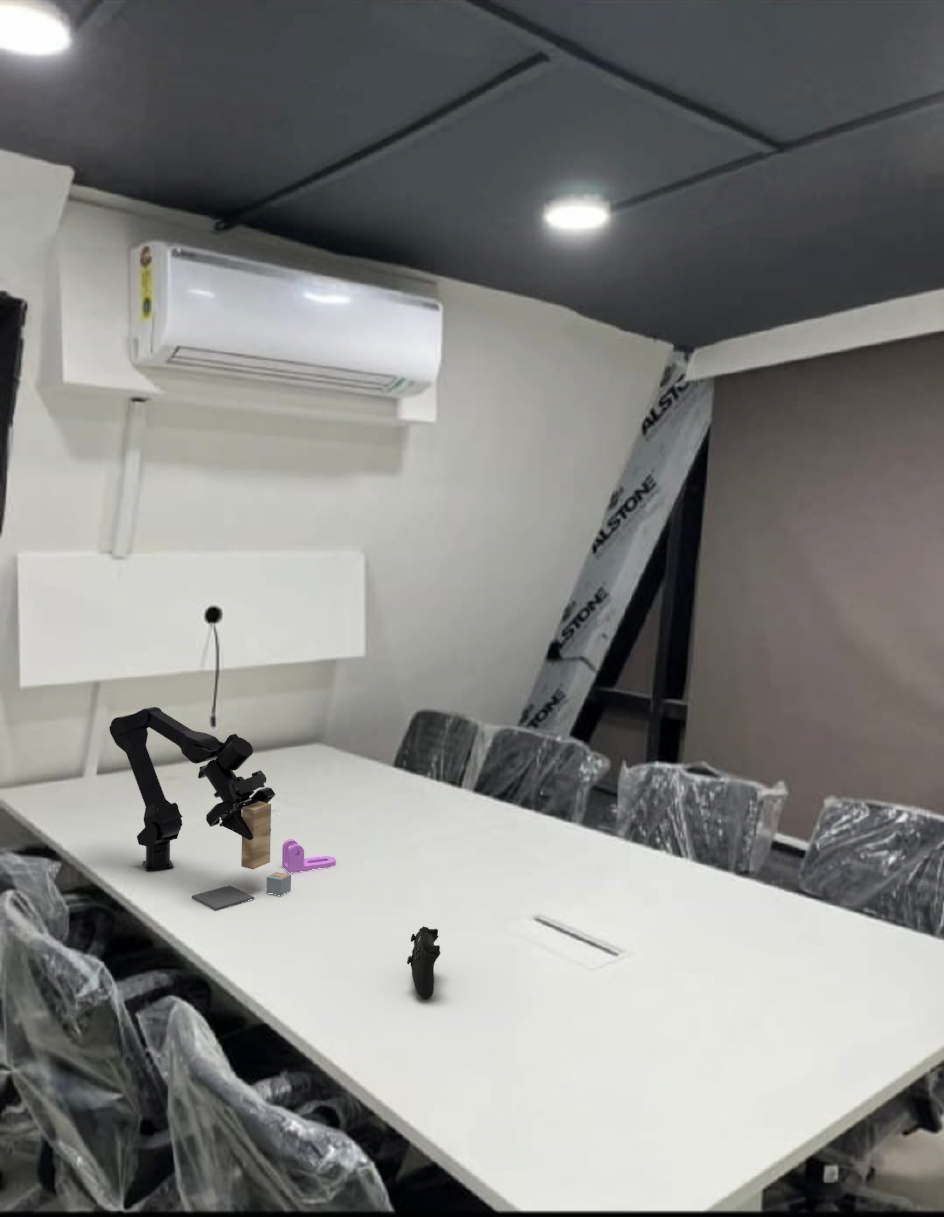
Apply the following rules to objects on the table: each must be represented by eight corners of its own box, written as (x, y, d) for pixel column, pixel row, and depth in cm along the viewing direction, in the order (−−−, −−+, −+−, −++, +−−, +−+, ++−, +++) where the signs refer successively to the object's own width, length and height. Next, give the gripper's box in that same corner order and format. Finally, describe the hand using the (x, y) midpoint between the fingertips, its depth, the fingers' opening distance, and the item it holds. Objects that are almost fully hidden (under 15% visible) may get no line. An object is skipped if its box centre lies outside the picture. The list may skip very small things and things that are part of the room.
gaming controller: (405, 967, 194) (406, 918, 193) (436, 967, 195) (437, 918, 194) (406, 1002, 180) (408, 949, 179) (440, 1002, 181) (441, 948, 180)
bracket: (289, 874, 244) (289, 846, 244) (282, 867, 249) (282, 840, 249) (339, 866, 251) (339, 839, 250) (331, 860, 255) (331, 833, 255)
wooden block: (241, 866, 230) (242, 807, 229) (258, 859, 235) (259, 801, 234) (253, 869, 229) (254, 809, 227) (270, 861, 234) (271, 803, 233)
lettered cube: (266, 893, 231) (266, 876, 231) (276, 888, 235) (276, 871, 234) (280, 896, 229) (281, 879, 229) (290, 891, 233) (291, 874, 233)
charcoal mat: (191, 898, 227) (191, 895, 227) (229, 887, 234) (229, 884, 234) (215, 910, 220) (215, 908, 220) (254, 899, 227) (254, 896, 227)
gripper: (216, 769, 224) (253, 826, 219) (270, 754, 240) (305, 806, 236) (189, 798, 228) (225, 854, 224) (244, 781, 244) (278, 832, 240)
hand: (260, 835), depth 231 cm, fingers closed on wooden block, 6 cm apart
